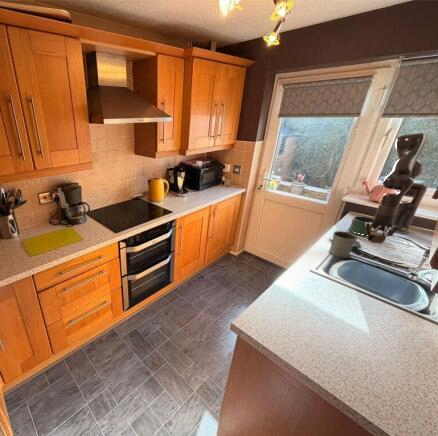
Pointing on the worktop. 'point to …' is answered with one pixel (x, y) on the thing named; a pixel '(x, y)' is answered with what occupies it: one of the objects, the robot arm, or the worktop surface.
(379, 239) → the block
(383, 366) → the worktop surface
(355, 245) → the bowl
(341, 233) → the grey cup
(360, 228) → the tin
